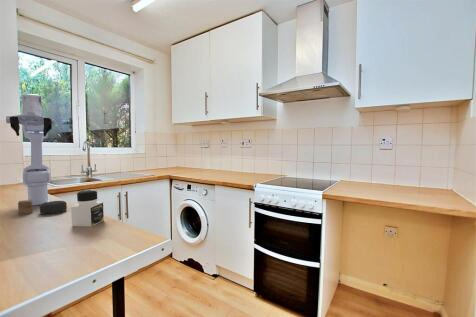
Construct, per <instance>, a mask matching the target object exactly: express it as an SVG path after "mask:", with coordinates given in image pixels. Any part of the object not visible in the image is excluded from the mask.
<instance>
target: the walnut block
mask: <svg viewBox="0 0 476 317" xmlns="http://www.w3.org/2000/svg"><path fill="white" fill-rule="evenodd" d="M17 207H18V216H22V215H28V214H29V215H30V214H33V211H34V210H33V205H32V200H28V199H26V200H18V202H17Z"/></svg>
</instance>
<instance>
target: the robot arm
mask: <svg viewBox="0 0 476 317" xmlns="http://www.w3.org/2000/svg"><path fill="white" fill-rule="evenodd" d="M20 99H21V105H22V114H18V115H10V116H9V115H8V116H5V123H6V124H9V125H10V128H11V129H12V130H13V131H14V132H15V134H16V137H20V125H22V131H23V135H24V138H25V139H28V140H29V141H30V165H28V166H26V167H24V168H23V172H22V183H23V185H24V186H26V188H27V200H32V206H38V205H39V206H40V205H41V204H43V203H46V202H50V199H49V193H48V191H49V190H48V188H49V187H48V184H51V170H50V168H49V167H50V166H47V165H45V164H43V142H44V140H45V139H46V138H48V136H49V132H50V131H51V130H52V128H53V126H56V119H55V118H51V117H47V116H44V115H42V109H43V97H42V95H39V94H36V93H35V94H33V93H22V94H21V98H20Z"/></svg>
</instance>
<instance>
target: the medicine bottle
mask: <svg viewBox="0 0 476 317" xmlns="http://www.w3.org/2000/svg"><path fill="white" fill-rule="evenodd" d="M76 198H77V204H75V205H72V206H71V207H70V210H71V211H70V213H71V214H70V215H71V226H72V227H80V228H81V227H82V228H83V227H86V228H89V227H90V228H91V227H93V226H95V225H97V224H99V223H101V222H103V221H104V219H105V218H104V202H103V201H98V191H97V190H95V189H84V190H80V191H78V192H77V193H76Z"/></svg>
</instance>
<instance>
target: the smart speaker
mask: <svg viewBox="0 0 476 317" xmlns="http://www.w3.org/2000/svg"><path fill="white" fill-rule="evenodd" d="M66 210H68V206H67V202H66V201H64V200H52V201H49V202H46V203H43V204H40V205H39V213H40V214H41V215H55V214H59V213H63V212H65V211H66Z"/></svg>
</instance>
